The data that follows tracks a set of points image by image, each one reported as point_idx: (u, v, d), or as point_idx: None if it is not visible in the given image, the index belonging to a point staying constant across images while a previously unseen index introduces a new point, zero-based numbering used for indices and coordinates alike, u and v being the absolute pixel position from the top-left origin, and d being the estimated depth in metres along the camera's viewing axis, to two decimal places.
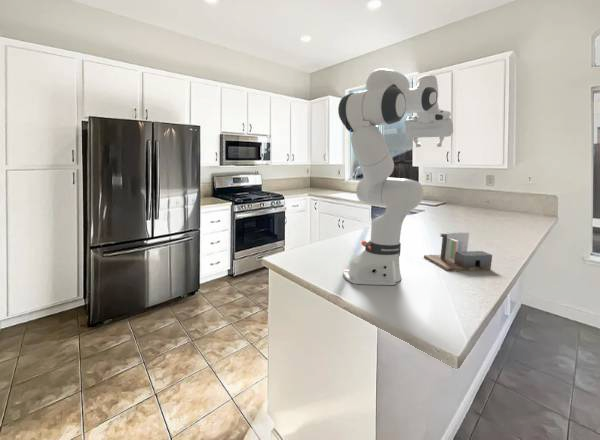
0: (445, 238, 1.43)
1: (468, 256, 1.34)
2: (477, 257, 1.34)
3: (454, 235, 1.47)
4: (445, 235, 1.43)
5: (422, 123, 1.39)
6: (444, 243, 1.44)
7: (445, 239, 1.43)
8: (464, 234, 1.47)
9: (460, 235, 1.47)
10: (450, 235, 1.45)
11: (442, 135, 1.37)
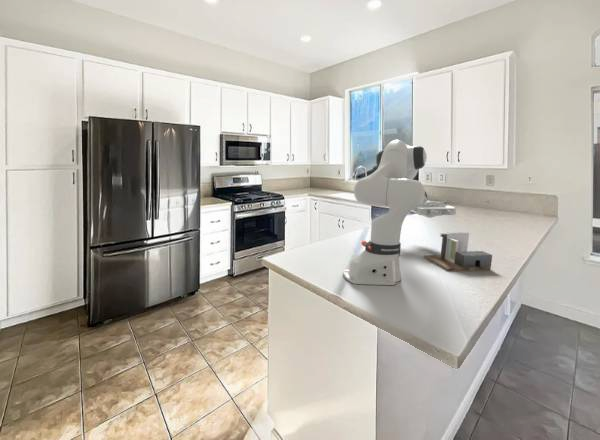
0: (445, 238, 1.43)
1: (468, 256, 1.34)
2: (477, 257, 1.34)
3: (454, 235, 1.47)
4: (445, 235, 1.43)
5: (430, 204, 1.68)
6: (444, 243, 1.44)
7: (445, 239, 1.43)
8: (464, 234, 1.47)
9: (460, 235, 1.47)
10: (450, 235, 1.45)
11: (450, 208, 1.64)
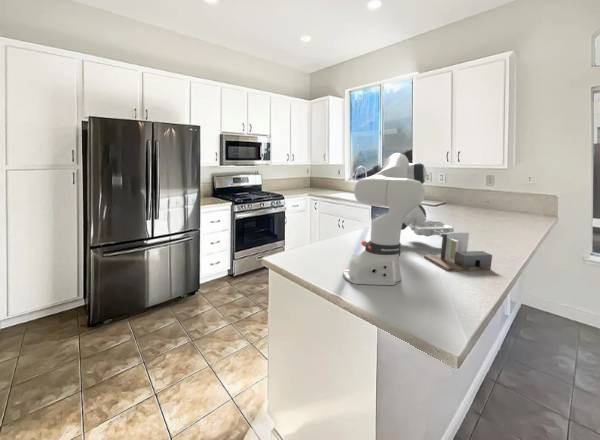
0: (445, 238, 1.43)
1: (468, 256, 1.34)
2: (477, 257, 1.34)
3: (454, 235, 1.47)
4: (445, 235, 1.43)
5: (428, 223, 1.71)
6: (444, 243, 1.44)
7: (445, 239, 1.43)
8: (464, 234, 1.47)
9: (460, 235, 1.47)
10: (450, 235, 1.45)
11: (448, 227, 1.66)
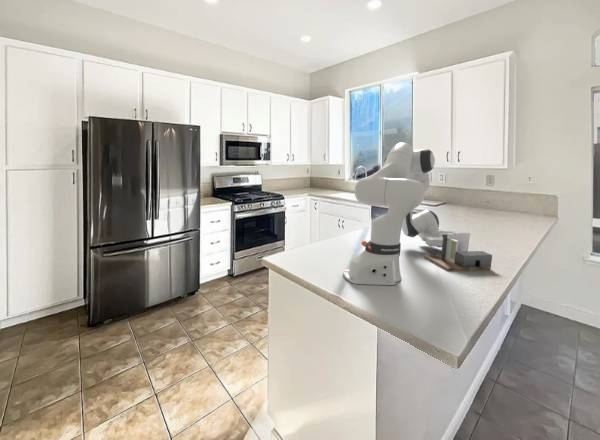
0: (445, 238, 1.43)
1: (468, 256, 1.34)
2: (477, 257, 1.34)
3: (455, 235, 1.46)
4: (445, 235, 1.43)
5: (440, 234, 1.59)
6: (444, 243, 1.43)
7: (445, 239, 1.43)
8: (465, 234, 1.47)
9: (461, 235, 1.46)
10: (451, 235, 1.45)
11: None
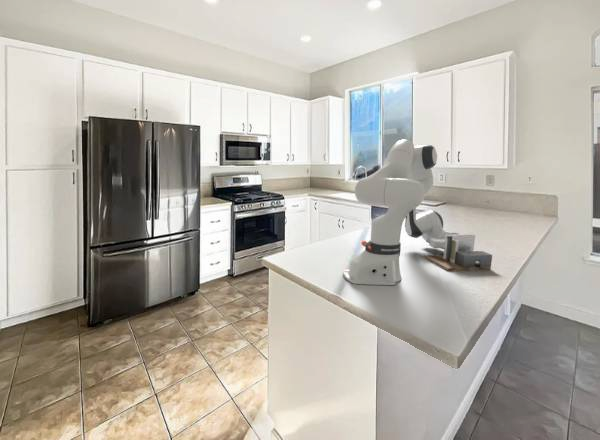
0: (450, 240, 1.40)
1: (468, 256, 1.34)
2: (477, 257, 1.34)
3: (460, 237, 1.42)
4: (450, 237, 1.39)
5: (444, 235, 1.55)
6: (449, 245, 1.40)
7: (450, 241, 1.40)
8: (470, 236, 1.43)
9: (466, 237, 1.43)
10: (456, 237, 1.41)
11: None
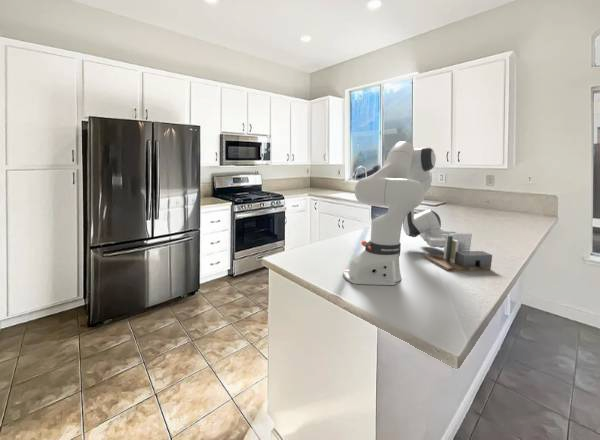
0: (450, 240, 1.40)
1: (468, 256, 1.34)
2: (477, 257, 1.34)
3: (457, 236, 1.45)
4: (450, 237, 1.39)
5: (442, 234, 1.58)
6: (449, 245, 1.40)
7: (450, 241, 1.40)
8: (467, 235, 1.45)
9: (463, 236, 1.45)
10: (453, 236, 1.43)
11: None
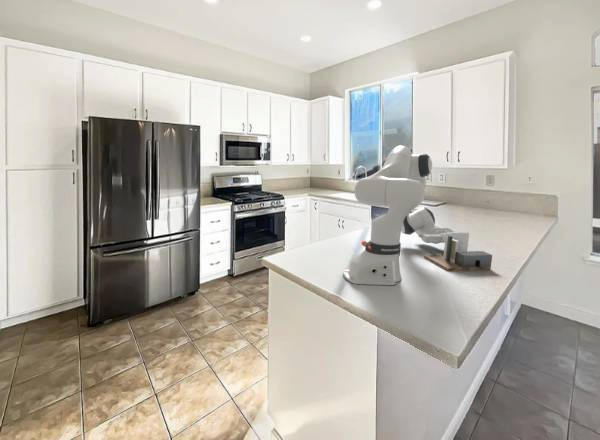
0: (450, 240, 1.40)
1: (468, 256, 1.34)
2: (477, 257, 1.34)
3: (454, 235, 1.46)
4: (450, 237, 1.39)
5: (436, 230, 1.63)
6: (449, 245, 1.40)
7: (450, 241, 1.40)
8: (464, 234, 1.47)
9: (460, 235, 1.47)
10: (450, 235, 1.45)
11: None
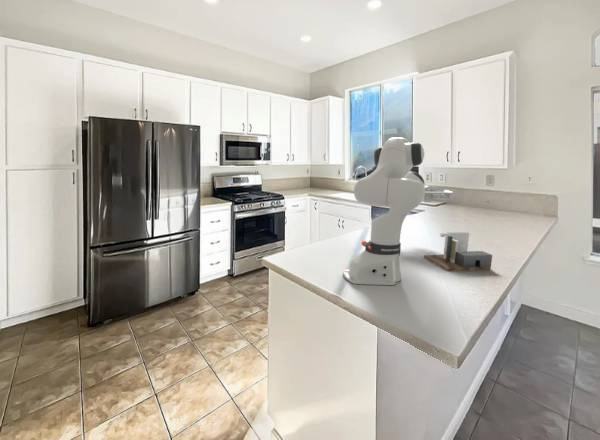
0: (450, 240, 1.40)
1: (468, 256, 1.34)
2: (477, 257, 1.34)
3: (454, 235, 1.46)
4: (450, 237, 1.39)
5: (428, 189, 1.70)
6: (449, 245, 1.40)
7: (450, 241, 1.40)
8: (464, 234, 1.47)
9: (460, 235, 1.47)
10: (450, 235, 1.45)
11: (448, 192, 1.65)
